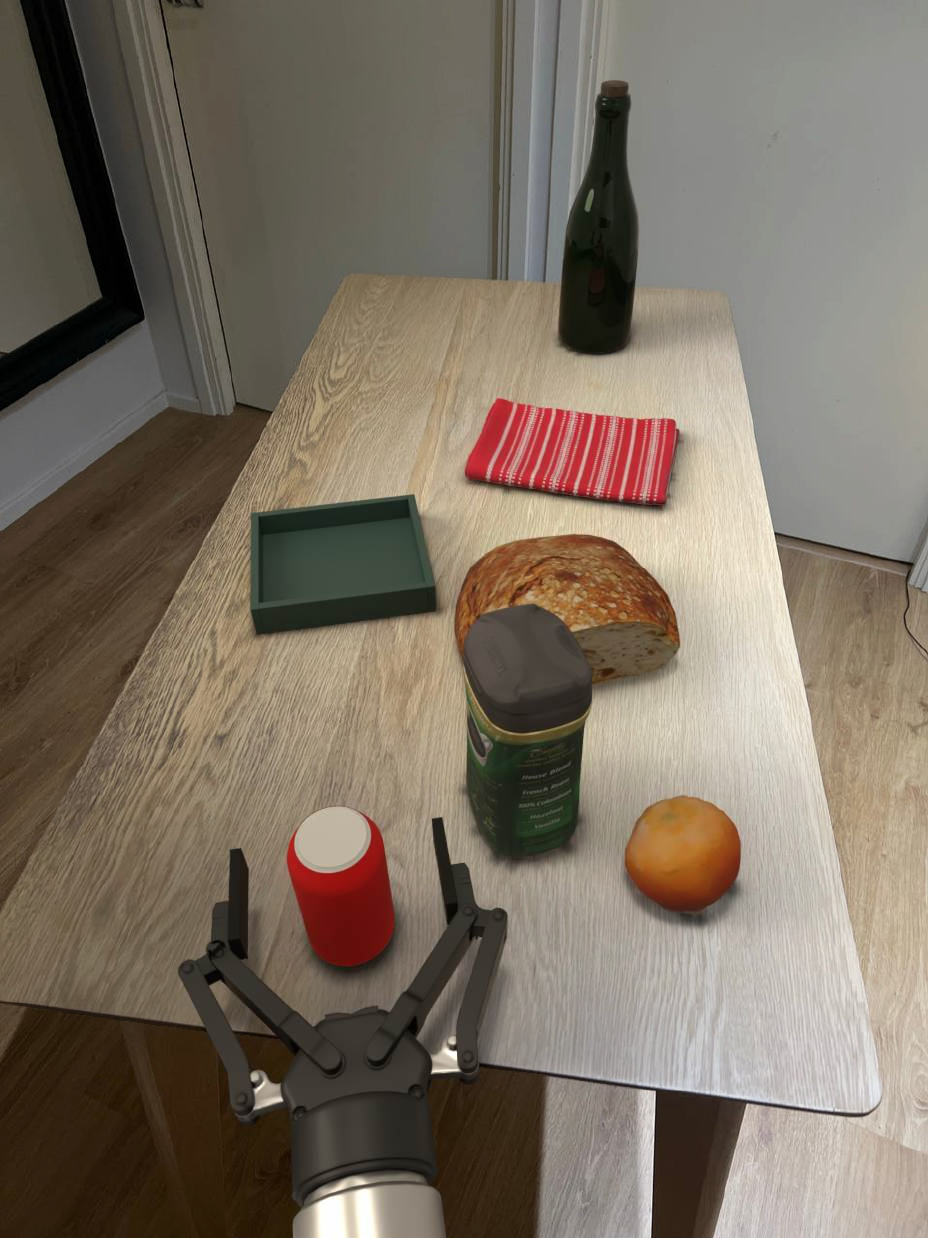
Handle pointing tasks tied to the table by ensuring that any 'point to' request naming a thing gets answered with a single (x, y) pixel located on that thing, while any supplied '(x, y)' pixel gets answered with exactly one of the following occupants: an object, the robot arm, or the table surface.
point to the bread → (578, 599)
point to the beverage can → (342, 885)
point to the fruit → (683, 854)
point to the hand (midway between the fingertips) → (339, 843)
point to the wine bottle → (602, 237)
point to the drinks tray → (338, 564)
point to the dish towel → (575, 453)
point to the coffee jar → (525, 728)
